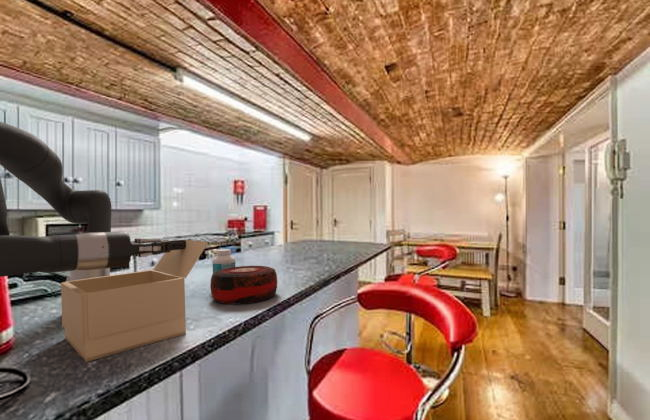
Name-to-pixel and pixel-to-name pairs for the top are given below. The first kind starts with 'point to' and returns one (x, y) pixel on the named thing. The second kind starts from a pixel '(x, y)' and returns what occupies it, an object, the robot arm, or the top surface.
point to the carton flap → (181, 259)
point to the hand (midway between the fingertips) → (184, 244)
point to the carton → (122, 312)
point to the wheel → (243, 284)
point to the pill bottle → (223, 260)
